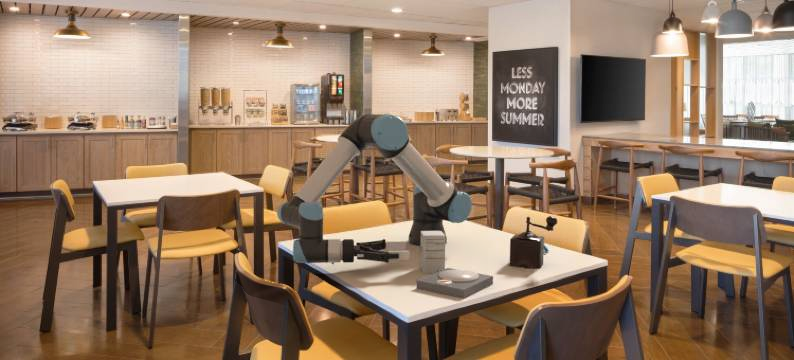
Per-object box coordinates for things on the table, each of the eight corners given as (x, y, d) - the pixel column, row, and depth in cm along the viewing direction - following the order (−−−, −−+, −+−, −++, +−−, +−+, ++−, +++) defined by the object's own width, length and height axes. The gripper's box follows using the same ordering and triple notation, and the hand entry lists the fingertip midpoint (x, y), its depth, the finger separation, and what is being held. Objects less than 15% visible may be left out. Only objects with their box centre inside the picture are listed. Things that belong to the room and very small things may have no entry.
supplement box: (419, 267, 209) (420, 230, 208) (441, 267, 210) (442, 230, 208) (422, 273, 202) (423, 235, 200) (445, 273, 202) (445, 235, 201)
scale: (416, 288, 185) (416, 278, 185) (447, 275, 200) (447, 266, 200) (464, 298, 176) (464, 287, 176) (492, 283, 191) (493, 274, 191)
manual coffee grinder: (507, 266, 212) (509, 214, 210) (514, 259, 222) (515, 209, 220) (554, 271, 206) (557, 217, 204) (559, 263, 216) (561, 212, 214)
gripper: (341, 253, 215) (403, 252, 217) (341, 272, 190) (411, 271, 192) (341, 231, 214) (403, 231, 216) (341, 248, 189) (411, 247, 191)
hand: (407, 250), depth 204 cm, fingers open, 13 cm apart
